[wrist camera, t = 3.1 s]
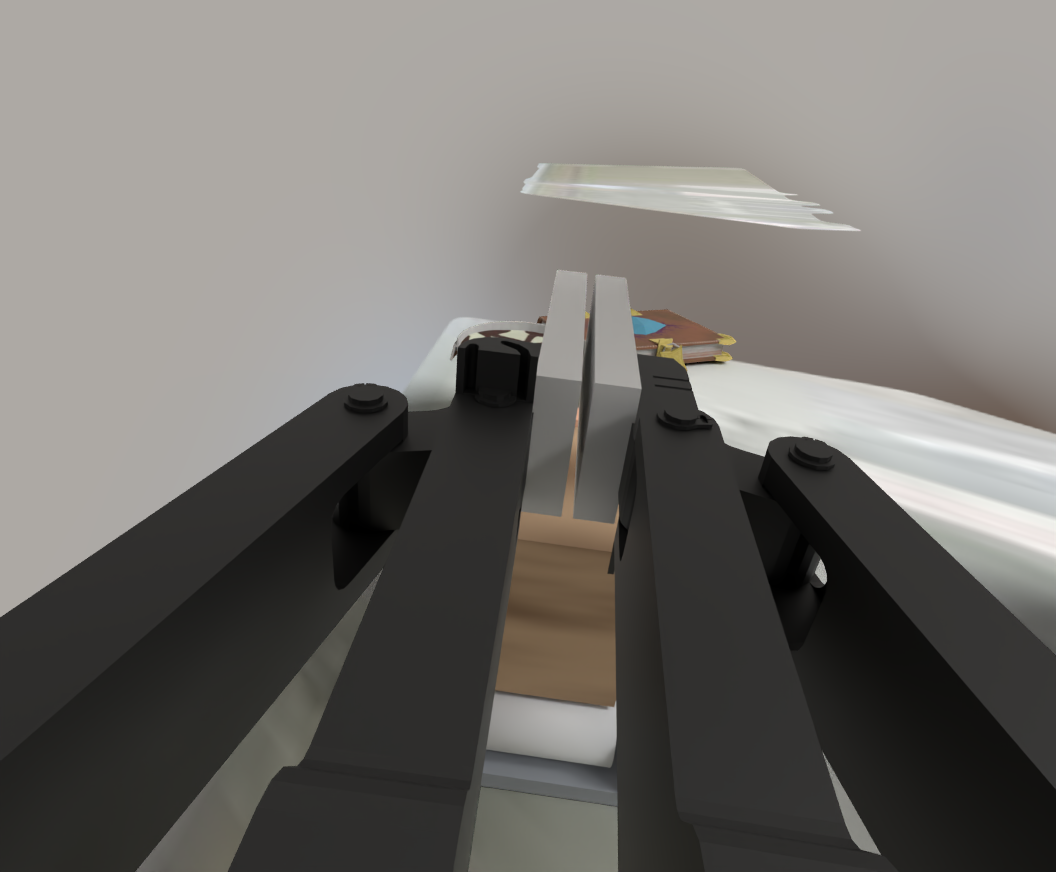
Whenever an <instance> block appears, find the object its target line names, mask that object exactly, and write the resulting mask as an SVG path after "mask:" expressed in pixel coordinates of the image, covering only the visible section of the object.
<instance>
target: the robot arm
mask: <svg viewBox="0 0 1056 872" xmlns="http://www.w3.org/2000/svg"><path fill="white" fill-rule="evenodd" d="M586 290H587V273H581V272H573V271H565V270H557V273H556V278H555V283H554V288H553V292H552V298H551V302H550V307H549V312H548V316H547V321H546V326H545V331H544V336H543V341H542V344H540V343H532V342H524V341H517V340H512V339H507V338H499V337H482V338H474V339H471V340H468V341H465V342H463V343H462V344H461V345H460V346H458V351H457V373H456V393H455V396H454V398H453V400H452V403H451V405H450V407H448V408H444V409H440V410H433V411H418V412H408V402H407V398H406V397H405V396H404V395H403V394H402V393H400V392H399V391H397V390H394V389H391V388H389V387H386V386H379V385H376V384H370V383H369V384H368V383H367V384H366V385H364V383H362V384H355V385H353V386H348V387H343V388H340V389H338V390H336V391H334V392H331V393H330V394H328V395H327V396H325V397H324V398H322V399H321V400H319V401H318V402H316V403H315V404H313V405H312V406H310V407H309V408H307V409H306V410H305V411H303V412H302V413H300V414H299V415H297V416H296V417H294V418H293V419H291V420H290V421H288V422H287V423H285V424H284V425H283V426H281V427H280V428H278V429H277V430H275V431H274V432H272V433H271V434H269V435H268V436H266V437H265V438H263V439H262V440H261V441H259V442H257V443H256V444H255V445H253V446H252V447H250V448H249V449H247V450H246V451H244V452H243V453H241V454H240V455H238V456H237V457H235V458H234V459H233V460H231V461H230V462H228V463H227V464H225V465H224V466H222V467H221V468H219V469H218V470H216V471H215V472H213V473H212V474H210V475H209V476H208V477H206V478H205V479H203V480H202V481H200V482H199V483H197V484H196V485H194V486H193V487H191V488H190V489H188V490H187V491H186V492H184V493H183V494H181V495H180V496H178V497H177V498H175V499H174V500H172V501H171V502H169V503H168V504H167V505H165V506H163V507H162V508H160V509H159V510H158V511H156V512H155V513H153V514H152V515H150V516H149V517H147V518H146V519H145V520H143V521H141V522H140V523H138V524H137V525H135V526H134V527H133V528H131V529H130V530H128V531H127V532H125V533H124V534H123V535H121V536H119V537H118V538H116V539H115V540H113V541H112V542H110V543H109V544H108V545H106V546H105V547H103V548H102V549H100V550H99V551H97V552H96V553H94V554H93V555H92V556H90V557H88V558H87V559H85V560H84V561H83V562H81V563H80V564H78V565H77V566H75V567H74V568H72V569H71V570H69V571H68V572H67V573H65V574H63V575H62V576H61V577H59V578H58V579H56V580H55V581H53V582H52V583H50V584H49V585H47V586H46V587H45V588H43V589H41V590H40V591H38V592H37V593H36V594H34V595H33V596H32V597H30V598H28V599H27V600H25V601H24V602H22V603H21V604H19V605H18V606H16V607H15V608H13V609H12V610H11V611H9V612H8V613H6V614H5V615H3V616H2V617H0V872H135V871H136V870H137V869H138V868H139V866H140V865H141V864H142V863H143V861H144V860H145V859H146V858H147V857H148V855H149V854H150V853H151V852H152V850H153V849H154V848H155V847H156V846H157V844H158V843H159V842H160V841H161V839H162V838H163V837H164V836H165V835H166V833H167V832H168V831H169V830H170V828H171V827H172V826H173V825H174V823H175V822H176V821H177V820H178V819H179V817H180V816H181V815H182V814H183V812H184V811H185V810H186V809H187V808H188V806H189V805H190V804H191V803H192V801H193V800H194V799H195V798H196V797H197V795H198V794H199V793H200V792H201V790H202V789H203V788H204V787H205V785H206V784H207V783H208V782H209V781H210V779H211V778H212V777H213V776H214V774H215V773H216V772H217V771H218V770H219V768H220V767H221V766H222V765H223V763H224V762H225V761H226V760H227V759H228V757H229V756H230V755H231V754H232V752H233V751H234V750H235V749H236V747H237V746H238V745H239V744H240V743H241V741H242V740H243V739H244V738H245V736H246V735H247V734H248V733H249V732H250V730H251V729H252V728H253V727H254V725H255V724H256V723H257V722H258V721H259V719H260V718H261V717H262V716H263V714H264V713H265V712H266V711H267V709H268V708H269V707H270V706H271V705H272V703H273V702H274V701H275V700H276V698H277V697H278V696H279V695H280V694H281V692H282V691H283V690H284V689H285V687H286V686H287V685H288V684H289V683H290V681H291V680H292V679H293V678H294V676H295V675H296V674H297V673H298V671H299V670H300V669H301V668H302V667H303V665H304V664H305V663H306V662H307V660H308V659H309V658H310V657H311V656H312V654H313V653H314V652H315V651H316V649H317V648H318V647H319V646H320V645H321V643H322V642H323V641H324V640H325V638H326V637H327V636H328V635H329V633H330V632H331V631H332V630H333V629H334V627H335V626H336V625H337V624H338V622H339V621H340V620H341V619H342V618H343V616H344V615H345V614H346V613H347V611H348V610H349V609H350V608H351V606H352V605H353V604H354V603H355V602H356V600H357V599H358V598H359V597H360V595H361V594H362V593H363V592H364V591H365V589H366V588H367V587H368V586H369V584H370V583H371V582H372V581H373V580H374V578H375V577H376V576H377V575H378V573H379V572H380V571H381V570H382V568H383V567H384V568H383V570H382V573H381V575H380V578H379V580H378V582H377V585H376V587H375V590H374V592H373V594H372V597H371V599H370V602H369V604H368V607H367V609H366V611H365V614H364V616H363V619H362V621H361V624H360V626H359V628H358V631H357V633H356V636H355V638H354V641H353V643H352V645H351V648H350V650H349V653H348V655H347V658H346V660H345V662H344V665H343V667H342V670H341V672H340V675H339V677H338V679H337V682H336V684H335V687H334V689H333V692H332V694H331V696H330V699H329V701H328V704H327V706H326V709H325V711H324V713H323V716H322V718H321V721H320V723H319V725H318V728H317V730H316V733H315V735H314V738H313V740H312V742H311V745H310V747H309V749H308V751H307V753H306V755H305V757H304V759H303V760H302V761H301V762H300V764H299V765H298V766H287V767H283V768H282V769H281V770H280V771H279V772H278V773H277V774H276V776H275V777H274V778H273V779H272V780H271V782H270V784H269V785H268V787H267V789H266V791H265V793H264V795H263V797H262V798H261V800H260V802H259V804H258V806H257V808H256V810H255V812H254V815H253V817H252V819H251V821H250V823H249V826H248V828H247V830H246V832H245V835H244V837H243V839H242V841H241V843H240V846H239V848H238V850H237V852H236V855H235V857H234V859H233V861H232V863H231V866H230V868H229V870H228V872H468V868H469V861H470V855H471V848H472V841H473V834H474V828H475V821H476V814H477V808H478V801H479V794H480V788H481V781H482V774H483V767H484V761H485V754H486V747H487V741H488V734H489V727H490V721H491V714H492V707H493V700H494V694H495V687H496V680H497V674H498V667H499V660H500V654H501V647H502V640H503V634H504V627H505V620H506V613H507V607H508V600H509V593H510V587H511V580H512V573H513V567H514V560H515V553H516V546H517V540H518V533H519V526H520V517H521V512H529V513H536V514H544V515H551V516H558V517H561V515H562V509H563V502H564V495H565V489H566V482H567V476H568V469H569V462H570V456H571V449H572V442H573V436H574V429H575V423H576V416H577V409H578V403H579V418H578V436H577V454H576V472H575V490H574V508H573V519H581V520H588V521H595V522H603V523H610V524H614V523H615V518H616V513H617V508H618V503H619V519H618V524H617V528H616V533H615V538H614V543H613V548H612V553H611V558H610V563H609V567H608V572H607V574H614V572H615V647H616V725H617V802H618V872H1056V655H1055V654H1054V653H1053V652H1052V651H1051V650H1050V649H1049V648H1048V647H1046V646H1045V645H1044V644H1043V643H1042V642H1041V641H1040V640H1039V639H1038V638H1037V637H1036V636H1035V635H1034V634H1033V633H1032V632H1031V631H1030V630H1029V629H1028V628H1027V627H1026V626H1024V625H1023V624H1022V623H1021V622H1020V621H1019V620H1018V619H1017V618H1016V617H1015V616H1014V615H1013V614H1012V613H1011V612H1010V611H1009V610H1008V609H1007V608H1006V607H1005V606H1004V605H1003V604H1001V603H1000V602H999V601H998V600H997V599H996V598H995V597H994V596H993V595H992V594H991V593H990V592H989V591H988V590H987V589H986V588H985V587H984V586H983V585H982V584H981V583H979V582H978V581H977V580H976V579H975V578H974V577H973V576H972V575H971V574H970V573H969V572H968V571H967V570H966V569H965V568H964V567H963V566H962V565H961V564H960V563H959V562H958V561H956V560H955V559H954V558H953V557H952V556H951V555H950V554H949V553H948V552H947V551H946V550H945V549H944V548H943V547H942V546H941V545H940V544H939V543H938V542H937V541H936V540H934V539H933V538H932V537H931V536H930V535H929V534H928V533H927V532H926V531H925V530H924V529H923V528H922V527H921V526H920V525H919V524H918V523H917V522H916V521H915V520H914V519H913V518H911V517H910V516H909V515H908V514H907V513H906V512H905V511H904V510H903V509H902V508H901V507H900V506H899V505H898V504H897V503H896V502H895V501H894V500H893V499H892V498H891V497H889V496H888V495H887V494H886V493H885V492H884V491H883V490H882V489H881V488H880V487H879V486H878V485H877V484H876V483H875V482H874V481H873V480H872V479H871V478H870V477H869V476H868V475H866V474H865V473H864V472H863V471H862V470H861V469H860V468H859V467H858V466H857V465H856V464H855V463H854V462H853V461H852V460H851V459H850V458H848V457H847V456H846V455H844V454H843V453H842V452H840V451H839V450H837V449H835V448H833V447H831V446H828V445H827V444H826V443H825V442H822V441H819V440H816V439H815V441H814V440H813V438H808V437H802V438H800V437H791V436H790V437H780V438H776V439H774V440H773V441H771V442H770V443H769V445H768V448H767V451H766V455H765V457H763V456H760V455H757V454H753V453H750V452H746V451H743V450H740V449H737V448H734V447H731V446H729V445H727V444H725V443H724V440H723V437H722V434H721V431H720V428H719V426H718V424H717V423H716V421H715V420H714V419H713V418H712V417H710V416H709V415H707V414H706V413H704V412H702V411H700V410H698V407H697V404H696V401H695V397H694V394H693V391H692V387H691V384H690V382H689V377H688V374H687V371H686V369H685V368H684V367H683V366H682V365H681V364H679V363H678V362H677V361H676V360H675V359H674V358H666V357H658V356H650V355H642V354H637V352H636V345H635V338H634V331H633V324H632V316H631V309H630V303H629V295H628V288H627V281H626V278H622V277H613V276H606V275H598V274H596V277H595V284H594V290H593V297H592V303H591V310H590V317H589V323H588V330H587V337H586V344H585V350H584V357H583V348H584V328H585V309H586ZM579 396H580V400H579ZM820 559H821V560H822V562H823V563H824V566H825V569H826V573H827V582H826V584H825V585H824V584H823V583H822V582H821V581H820V579H819V578H818V577H817V575H816V574H815V571H816V568H817V566H818V563H819V561H820ZM822 751H823V753H824V755H825V756H826V758H827V760H828V762H829V763H830V765H831V767H832V769H833V770H834V772H835V774H836V776H837V777H838V779H839V781H840V783H841V785H842V786H843V788H844V790H845V792H846V793H847V795H848V797H849V799H850V800H851V802H852V804H853V806H854V807H855V809H856V811H857V813H858V815H859V816H860V818H861V820H862V822H863V823H864V825H865V827H866V829H867V830H868V832H869V834H870V836H871V837H872V839H873V841H874V843H875V845H876V846H877V848H878V850H879V852H880V853H881V855H878V854H875V853H871V852H867V851H863V850H860V849H859V847H858V846H857V845H856V844H855V843H854V842H853V840H852V839H851V836H850V834H849V832H848V829H847V827H846V825H845V822H844V819H843V816H842V813H841V809H840V806H839V803H838V800H837V797H836V794H835V790H834V787H833V784H832V781H831V778H830V775H829V772H828V768H827V765H826V762H825V759H824V756H823V753H822Z"/></svg>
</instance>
